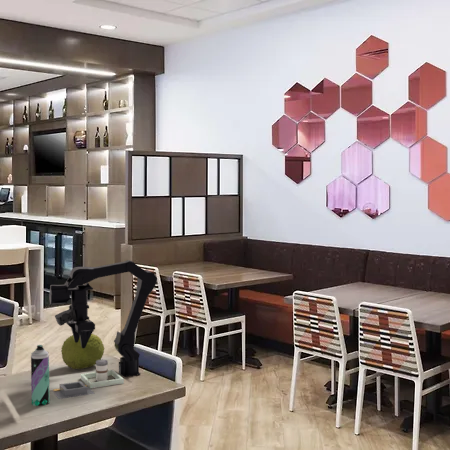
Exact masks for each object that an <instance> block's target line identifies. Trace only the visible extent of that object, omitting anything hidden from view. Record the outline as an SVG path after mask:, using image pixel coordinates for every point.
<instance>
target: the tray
mask: <svg viewBox="0 0 450 450" xmlns="http://www.w3.org/2000/svg"><path fill="white" fill-rule="evenodd" d="M108 376H112V377H113V379H108V380H106V381H99V382H96V381H94V382H93V381H91V380H90V379H93V378H94V379H95V378H96V371H95V372H93V371H92V372H87V373H80V379H81V382H82V383H83V384H84V385H87V386H88V387H89V388H90V389H94V388H95V389H96V388H101V387H107V386H115V385H123V384H125V377H123V376H122V375H121V374H120V373H119V372H117V371H115V370H114V369H108ZM114 378H115V379H114Z"/></svg>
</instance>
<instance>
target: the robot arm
mask: <svg viewBox="0 0 450 450" xmlns="http://www.w3.org/2000/svg"><path fill="white" fill-rule="evenodd" d="M124 273H130V274H131V275H133V276H134V277H136V278H137V279H136V281H137V282H136V293H135V296H134V299H133V301H132V305H131V308H130V310H129V314H128V316H127V319H126V322H125V325H124V327H123V329H122V330H121V331H116V334H115V335H116V336H115V338H114V340H113V343H114V349H115V351H116V352H117V353H119V354H120V356H121V357H119V361H118V374H119V375H120V376H121V377H122V378H127V377H133V376H139V375H140V376H141V372H140V359H139V358H140V356H141V355H140V353H139V352H138V351H137V350H136V349H135V342H136V331H137V327H138V326H139V322H140V320H141V317H142V314H143V311H144V308H145V305H146V301H147V300H148V296H149V295H151V292H153V290H154V289H155V287H156V285H157V284H158V278H157V275H156V274H155V273H154V272H152V271H150V270H147V269H143V268H142V267H140V266H139V265H138V264H136V262H134V261H133V260H131V259H126V260H125V261H120V262H119V261H118V262H114V263H110V264H109V263H108V264H104V265H99V266H75V267H73V268H72V269H71V270H70V273H69V277H68V279H67V280H66V281H65V282H64V284H50V286H49V287H50V288H49V293H48V297H49V300H48V301H49V305H57V304H58V305H61V304H67V303H68V302H69V301H71V304H69V305H68V309H67V310H63V311H62V312H59V313H57V314H55V315H54V318H55V320H56V324H57V325H59V326H64V325H65V324H66V326H67V325H68V326H69V327H70V329H71V332H72V335H73V337H74V340H75V343H77V342H78V341H79V338H80V341H81V346H82V348H85V347H86V345H87V343H88V340H89V338H90V336H91V334H93V332H94V331H95V330H96V323H94V321H92V320H90V316H88V315H89V313H88V310H89V309H90V304H88V302H89V301H88V291H93V290H94V287H92V285H91V284H90V282H92V281H94V280H96V279H98V278H100V279H101V278H104V277H109V276H114V275H120V274H124Z"/></svg>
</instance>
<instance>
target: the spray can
mask: <svg viewBox="0 0 450 450" xmlns="http://www.w3.org/2000/svg"><path fill="white" fill-rule="evenodd" d="M30 374H31V375H30V376H31V378H30V379H31V380H30V382H31V384H30V385H31V405H32V406H34V407H43V406H46V405H49V404H50V401H51V400H50V398H51V397H50V396H51V395H50V355H49V351H48V350H45V348H44V346H43V345H42V344H37V345H36V348H35V349H34V351H32V352H31V354H30Z"/></svg>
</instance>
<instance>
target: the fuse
mask: <svg viewBox="0 0 450 450" xmlns="http://www.w3.org/2000/svg"><path fill="white" fill-rule="evenodd" d="M108 363H109V361H108V360H107V359H102V358H101V360H97V361H96V364H95V372H96V377H95V380H96V381H95V382H99V381H106V380H109V379H108V378H109V375H108V370H109V369H108V368H109V366H108Z"/></svg>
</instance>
